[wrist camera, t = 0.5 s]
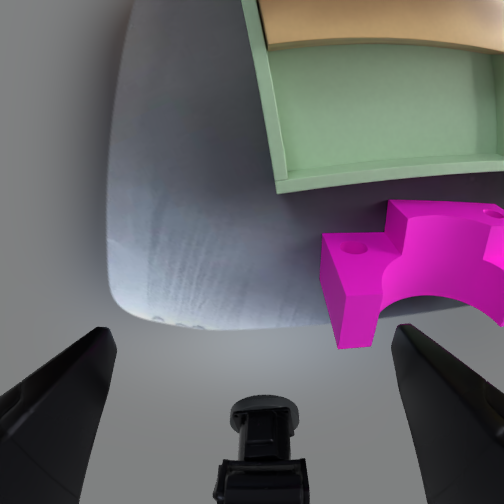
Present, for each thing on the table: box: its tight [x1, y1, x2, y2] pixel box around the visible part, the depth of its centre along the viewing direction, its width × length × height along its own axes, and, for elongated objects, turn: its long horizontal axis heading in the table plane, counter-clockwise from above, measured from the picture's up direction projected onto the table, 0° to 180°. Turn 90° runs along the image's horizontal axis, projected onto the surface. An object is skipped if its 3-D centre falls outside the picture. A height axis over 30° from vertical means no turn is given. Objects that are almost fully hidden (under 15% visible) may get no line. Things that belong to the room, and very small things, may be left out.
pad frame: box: [241, 0, 504, 194], centre depth 15 cm, size 15×18×2 cm
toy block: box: [319, 200, 504, 349], centre depth 19 cm, size 15×6×8 cm, turn 92°
